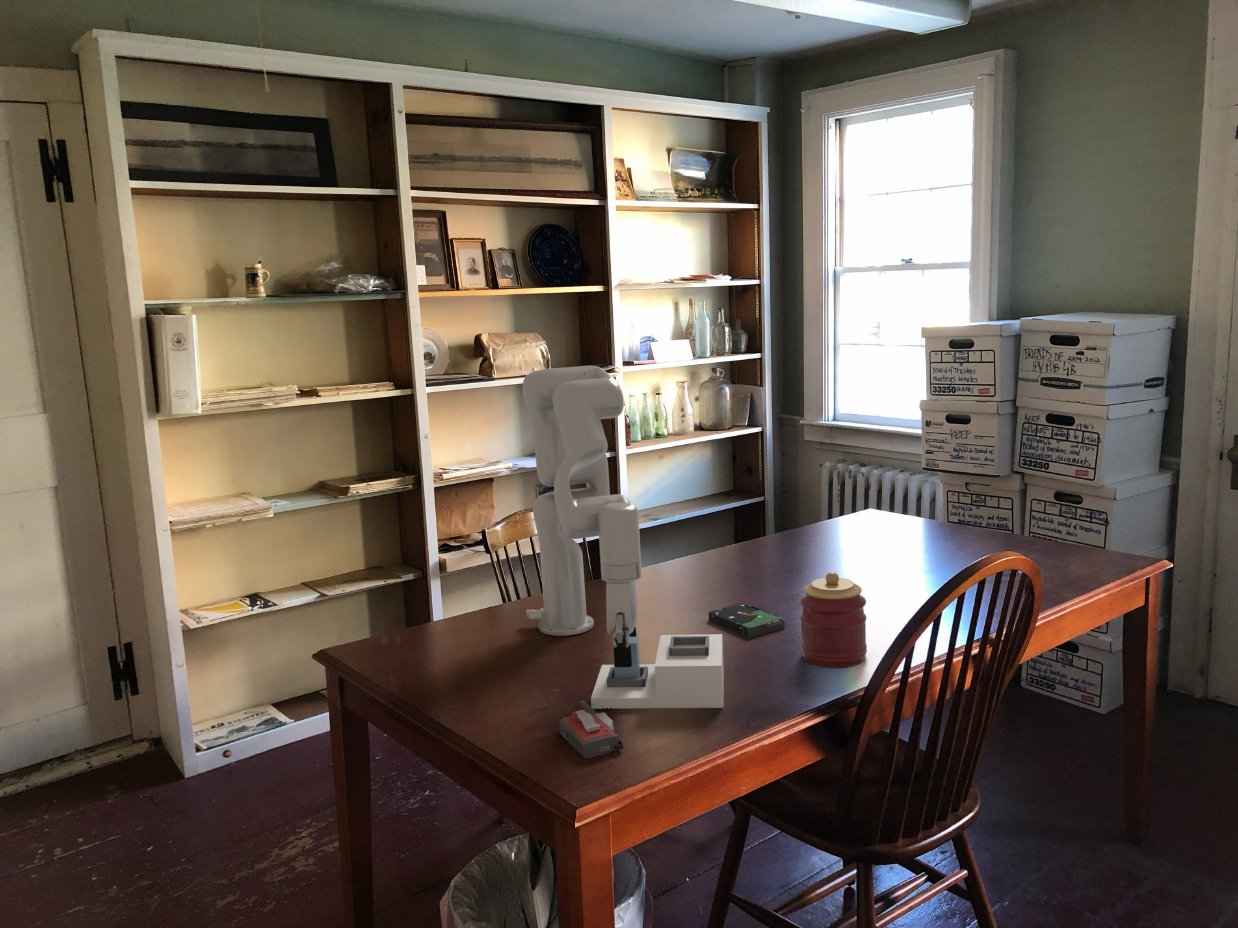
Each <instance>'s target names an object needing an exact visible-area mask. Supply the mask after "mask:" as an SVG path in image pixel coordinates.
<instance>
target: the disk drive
mask: <svg viewBox="0 0 1238 928" xmlns="http://www.w3.org/2000/svg"><path fill="white" fill-rule="evenodd" d="M708 621H709V622H711V623H714V624H715V625H718V626H721V627H723V628H725V629H727V630H730V631H732V632H734V631H735V632H734V633H736V634H739V635H741V634H742V635H741V636H743V635H744V637H746V636H747V637H746V638H748V637H749V638H748V639H750V637H751V638H754V637H758V636H760V634H761V635H765V634H768V633H771V631H772V632H776V631H778V629H779V630H781V629H785V626H786V625H785V620H784V619H783V617H782V616H780V615H777V614H774V613H772V612H769V611H766V610H763V609H761V608H758V607H756V606H754V605H751V604H748V603H745V602H740V603H737V604H733V605H729V606H725V607H723V608H722V609H721V610H719V609H715V610H710V611H708ZM764 633H765V634H764ZM757 635H758V636H757ZM753 636H754V637H753Z"/></svg>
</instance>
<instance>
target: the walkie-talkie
mask: <svg viewBox="0 0 1238 928" xmlns="http://www.w3.org/2000/svg"><path fill="white" fill-rule="evenodd" d="M579 706H580V707H581V708H583V709H580V710H576V711H573V712H572V713H571V715H569V716H565V717H563V718H562V719H560V720H559V734H560V735H562V736H561V737H563V739H564V738H565V739H564V740H565V741H566V740H567V741H568V742H569V743H568V742H567V741H566V742H567V743H568V744H569V745H570V746H571V747H572V748H573V747H574V748H575V749H574V750H575V751H578V752H579V753H578V754H579V755H580V756H581V755H582V756H583V757H585V758H584V759H587V758H589V759H592V758H591V757H593V758H596V756H597V757H599V755H600V756H603V755H602V754H604V755H606V754H605V753H607V754H610V753H609V752H611V753H613V752H612V751H615V750H618V751H619V750H622V749H624V743H623V741H622V740H621V739H620V738H619V735H618V734H617V733H616V732H615V731H614V721H613V719H611V718H610V717H609V716H608V715H607V713H606V712H597V711H596V710H595V709H592V708H591V705H589V704H588V703H587V702H586V701H584V700H580V702H579ZM615 752H616V751H615ZM582 756H581V757H582ZM583 757H582V758H583Z"/></svg>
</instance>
